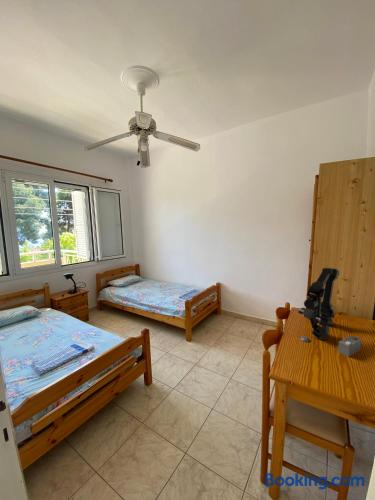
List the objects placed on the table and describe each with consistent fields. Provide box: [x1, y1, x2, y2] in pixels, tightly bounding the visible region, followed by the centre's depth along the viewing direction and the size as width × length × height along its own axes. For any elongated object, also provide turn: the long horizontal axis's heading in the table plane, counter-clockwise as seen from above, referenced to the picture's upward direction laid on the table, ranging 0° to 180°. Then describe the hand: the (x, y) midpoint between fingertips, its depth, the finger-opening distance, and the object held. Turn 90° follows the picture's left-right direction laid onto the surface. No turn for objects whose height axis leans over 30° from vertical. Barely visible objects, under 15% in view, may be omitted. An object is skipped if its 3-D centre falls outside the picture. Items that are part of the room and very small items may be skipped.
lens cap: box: [299, 335, 311, 343], centre depth 125 cm, size 5×5×1 cm
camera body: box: [337, 335, 362, 358], centre depth 114 cm, size 13×6×7 cm, turn 118°
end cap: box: [311, 322, 330, 341], centre depth 127 cm, size 10×7×7 cm
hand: (313, 328), depth 131 cm, fingers closed
